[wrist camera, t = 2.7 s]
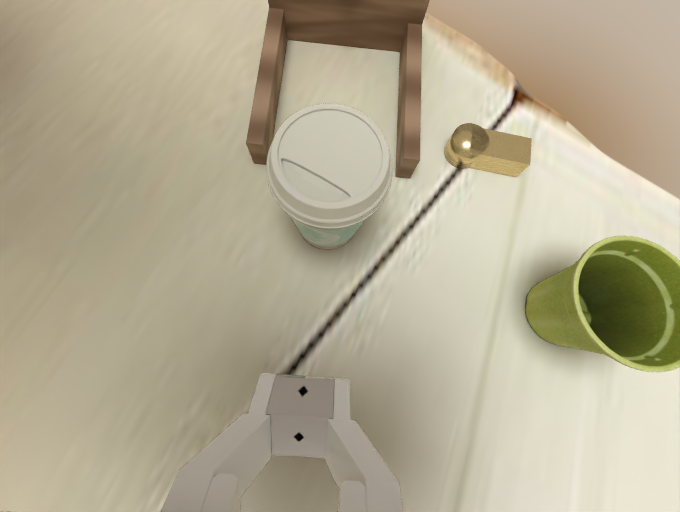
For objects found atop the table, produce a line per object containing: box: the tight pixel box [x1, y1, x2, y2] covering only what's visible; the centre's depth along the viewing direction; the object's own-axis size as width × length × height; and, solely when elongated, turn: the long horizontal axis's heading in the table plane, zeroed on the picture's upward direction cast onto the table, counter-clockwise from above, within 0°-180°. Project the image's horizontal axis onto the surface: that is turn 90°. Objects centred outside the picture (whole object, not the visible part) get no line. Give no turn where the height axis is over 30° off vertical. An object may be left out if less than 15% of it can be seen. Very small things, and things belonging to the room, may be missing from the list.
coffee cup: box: [266, 103, 392, 249], centre depth 26 cm, size 8×8×12 cm
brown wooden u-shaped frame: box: [246, 0, 429, 178], centre depth 31 cm, size 18×16×9 cm
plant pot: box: [526, 236, 680, 372], centre depth 27 cm, size 9×9×9 cm
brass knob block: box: [444, 123, 531, 177], centre depth 33 cm, size 8×4×2 cm, turn 79°
